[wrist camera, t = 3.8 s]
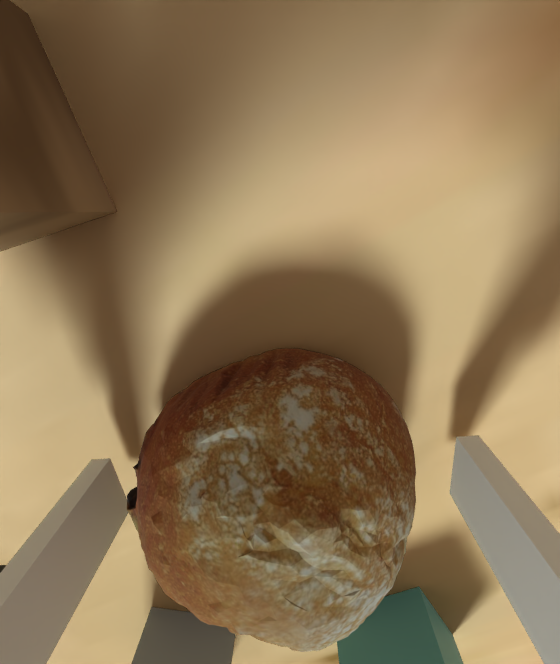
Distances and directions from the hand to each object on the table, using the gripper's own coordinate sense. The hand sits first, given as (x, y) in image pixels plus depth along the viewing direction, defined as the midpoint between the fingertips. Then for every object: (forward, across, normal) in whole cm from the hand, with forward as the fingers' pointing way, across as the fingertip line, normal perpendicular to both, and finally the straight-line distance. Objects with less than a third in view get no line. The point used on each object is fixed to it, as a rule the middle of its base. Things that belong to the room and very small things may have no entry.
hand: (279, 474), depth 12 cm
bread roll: (+2, 0, 0) cm, 2 cm away
